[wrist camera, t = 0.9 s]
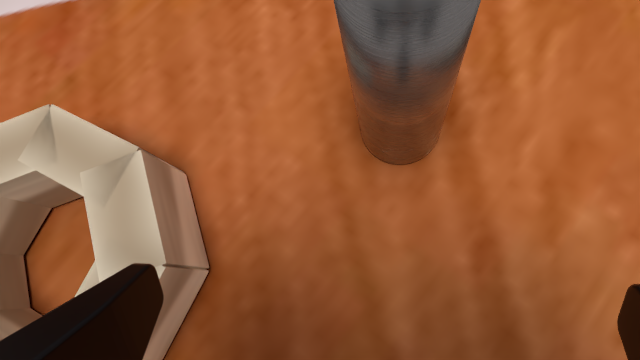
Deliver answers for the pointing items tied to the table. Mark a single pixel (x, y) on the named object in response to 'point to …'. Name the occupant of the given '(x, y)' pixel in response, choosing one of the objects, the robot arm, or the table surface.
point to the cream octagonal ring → (96, 213)
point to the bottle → (403, 69)
